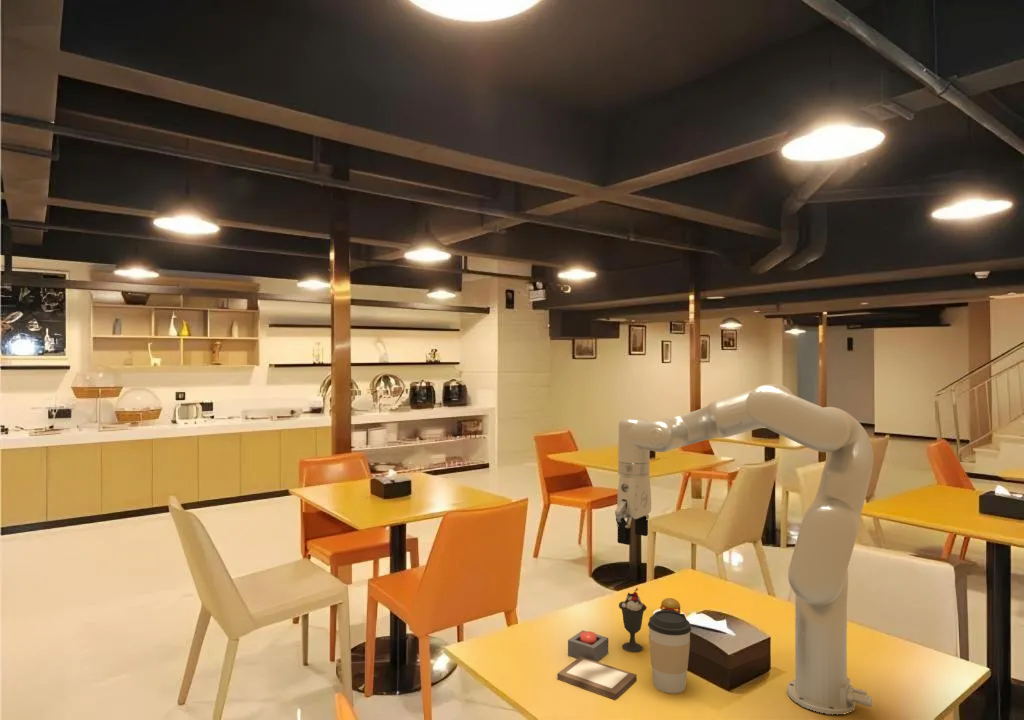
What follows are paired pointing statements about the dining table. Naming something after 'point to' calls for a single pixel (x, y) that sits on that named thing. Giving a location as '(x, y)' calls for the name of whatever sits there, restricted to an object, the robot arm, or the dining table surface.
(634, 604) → the sundae
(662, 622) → the coffee cup
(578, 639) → the button base
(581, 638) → the button
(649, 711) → the dining table surface
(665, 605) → the hamburger
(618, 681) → the drawing board
